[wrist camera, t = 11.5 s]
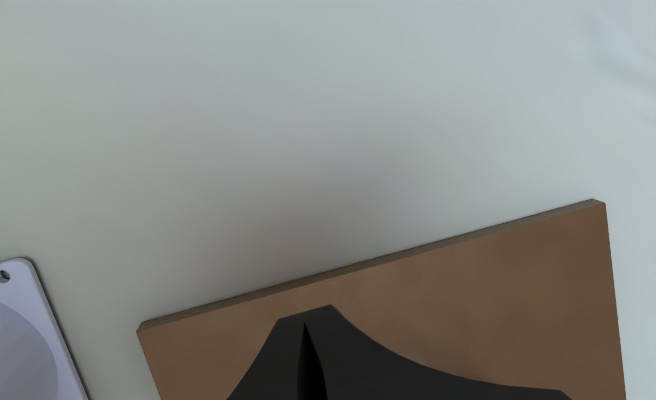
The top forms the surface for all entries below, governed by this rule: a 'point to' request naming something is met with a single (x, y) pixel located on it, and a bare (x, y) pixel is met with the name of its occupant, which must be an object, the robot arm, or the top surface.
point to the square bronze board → (434, 312)
